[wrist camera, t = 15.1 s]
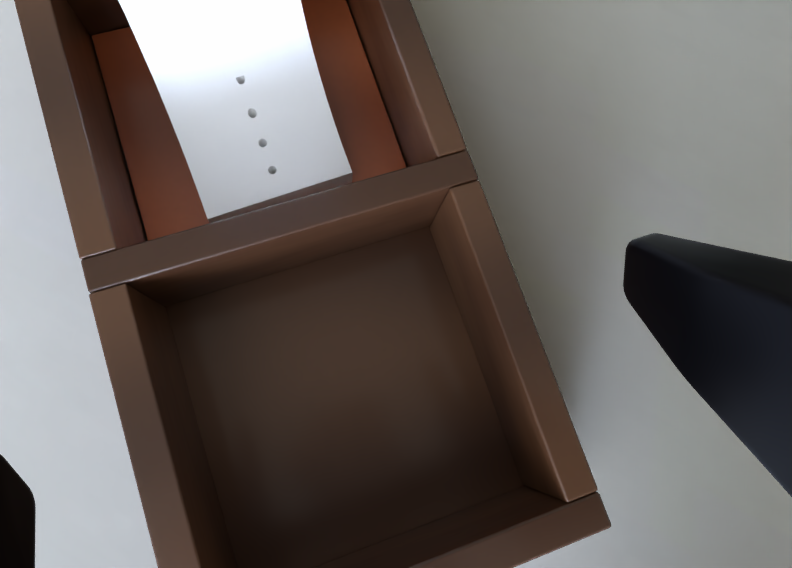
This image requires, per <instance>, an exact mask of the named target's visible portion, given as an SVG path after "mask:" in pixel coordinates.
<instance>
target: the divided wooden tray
mask: <svg viewBox="0 0 792 568" xmlns="http://www.w3.org/2000/svg"><path fill="white" fill-rule="evenodd" d="M14 1H15V5H16V9H17V13H18V17H19V21H20V25H21V29H22V33H23V37H24V41H25V45H26V49H27V53H28V57H29V61H30V64H31V68H32V72H33V76H34V80H35V84H36V88H37V92H38V96H39V100H40V104H41V108H42V112H43V116H44V120H45V124H46V128H47V132H48V136H49V139H50V143H51V147H52V151H53V155H54V159H55V163H56V167H57V171H58V175H59V179H60V183H61V187H62V191H63V195H64V199H65V203H66V207H67V211H68V214H69V218H70V222H71V226H72V230H73V234H74V238H75V242H76V246H77V250H78V254H79V258H80V259H82V261H81V264H82V268H83V272H84V276H85V280H86V284H87V287H88V291H89V292H90V293H91V294H89V297H90V301H91V305H92V309H93V313H94V317H95V321H96V325H97V329H98V333H99V336H100V340H101V344H102V348H103V352H104V356H105V360H106V364H107V368H108V372H109V376H110V380H111V384H112V388H113V392H114V396H115V400H116V404H117V407H118V411H119V415H120V419H121V423H122V427H123V431H124V435H125V439H126V443H127V447H128V451H129V455H130V459H131V463H132V467H133V471H134V475H135V479H136V482H137V486H138V490H139V494H140V498H141V502H142V506H143V510H144V514H145V518H146V522H147V526H148V530H149V534H150V538H151V542H152V546H153V550H154V553H155V557H156V561H157V565H158V568H514V567H516V566H519V565H521V564H523V563H526V562H528V561H531V560H533V559H535V558H538V557H540V556H543V555H545V554H548V553H550V552H552V551H555V550H557V549H560V548H562V547H564V546H567V545H569V544H572V543H574V542H577V541H579V540H581V539H584V538H586V537H589V536H591V535H594V534H596V533H598V532H601V531H603V530H606V529H608V528H610V527H611V523H610V520H609V517H608V515H607V512H606V510H605V507H604V504H603V502H602V499H601V497H600V494H599V493H598V492H596V491H597V486H596V483H595V480H594V478H593V475H592V473H591V470H590V467H589V465H588V462H587V460H586V457H585V454H584V452H583V449H582V447H581V444H580V441H579V439H578V436H577V434H576V431H575V428H574V426H573V423H572V421H571V418H570V415H569V413H568V410H567V408H566V405H565V402H564V400H563V397H562V395H561V392H560V389H559V387H558V384H557V382H556V379H555V376H554V374H553V371H552V368H551V366H550V363H549V361H548V358H547V355H546V353H545V350H544V348H543V345H542V342H541V340H540V337H539V335H538V332H537V329H536V327H535V324H534V322H533V319H532V316H531V314H530V311H529V309H528V306H527V303H526V301H525V298H524V296H523V293H522V290H521V288H520V285H519V283H518V280H517V277H516V275H515V272H514V270H513V267H512V264H511V262H510V259H509V257H508V254H507V251H506V249H505V246H504V244H503V241H502V238H501V236H500V233H499V231H498V228H497V225H496V223H495V220H494V217H493V215H492V212H491V210H490V207H489V204H488V202H487V199H486V197H485V194H484V191H483V189H482V186H481V184H480V182H479V181H477V180H478V176H477V173H476V171H475V168H474V166H473V163H472V160H471V158H470V155H469V153H468V151H466V145H465V142H464V140H463V137H462V135H461V132H460V129H459V127H458V124H457V122H456V119H455V116H454V114H453V111H452V109H451V106H450V103H449V101H448V98H447V96H446V93H445V90H444V88H443V85H442V83H441V80H440V77H439V75H438V72H437V69H436V67H435V64H434V62H433V59H432V56H431V54H430V51H429V49H428V46H427V43H426V41H425V38H424V36H423V33H422V30H421V28H420V25H419V23H418V20H417V17H416V15H415V12H414V10H413V7H412V4H411V2H410V0H301V4H302V8H303V13H304V17H305V21H306V25H307V29H308V33H309V37H310V41H311V45H312V49H313V53H314V56H315V60H316V63H317V67H318V71H319V74H320V78H321V81H322V84H323V88H324V91H325V94H326V98H327V101H328V104H329V107H330V110H331V113H332V117H333V120H334V123H335V126H336V128H337V131H338V134H339V137H340V140H341V143H342V146H343V148H344V151H345V154H346V157H347V159H348V162H349V165H350V167H351V170H352V183H349V184H346V185H343V186H339V187H336V188H332V189H329V190H325V191H322V192H318V193H314V194H311V195H307V196H304V197H300V198H297V199H293V200H290V201H286V202H283V203H279V204H276V205H272V206H269V207H265V208H262V209H258V210H255V211H251V212H247V213H244V214H240V215H237V216H233V217H230V218H226V219H223V220H219V221H216V222H212V223H210V222H209V221H208V219H207V216H206V213H205V210H204V208H203V205H202V202H201V199H200V196H199V194H198V191H197V188H196V185H195V182H194V180H193V177H192V174H191V172H190V169H189V166H188V164H187V161H186V158H185V156H184V153H183V151H182V148H181V145H180V143H179V140H178V138H177V135H176V133H175V130H174V128H173V125H172V123H171V120H170V118H169V115H168V113H167V110H166V108H165V105H164V103H163V100H162V98H161V96H160V93H159V91H158V89H157V86H156V84H155V81H154V79H153V77H152V74H151V72H150V70H149V67H148V65H147V63H146V60H145V58H144V56H143V54H142V51H141V49H140V47H139V45H138V42H137V40H136V38H135V35H134V33H133V31H132V29H131V27H130V25H129V22H128V20H127V18H126V16H125V14H124V11H123V9H122V7H121V5H120V3H119V1H118V0H14Z"/></svg>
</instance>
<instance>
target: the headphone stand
mask: <svg viewBox="0 0 792 568" xmlns="http://www.w3.org/2000/svg"><path fill="white" fill-rule="evenodd" d="M118 1H119V3H120V5H121V7H122V9H123V11H124V14H125V16H126V18H127V20H128V22H129V25H130V27H131V29H132V31H133V33H134V35H135V38H136V40H137V42H138V45H139V47H140V49H141V51H142V54H143V56H144V58H145V60H146V63H147V65H148V67H149V70H150V72H151V74H152V77H153V79H154V81H155V84H156V86H157V89H158V91H159V93H160V96H161V98H162V100H163V103H164V105H165V108H166V110H167V113H168V115H169V118H170V120H171V123H172V125H173V128H174V130H175V133H176V135H177V138H178V140H179V143H180V145H181V148H182V151H183V153H184V156H185V158H186V161H187V164H188V166H189V169H190V172H191V174H192V177H193V180H194V182H195V185H196V188H197V191H198V194H199V196H200V199H201V202H202V205H203V208H204V210H205V213H206V216H207V219H208V221H209V222H210V223H212V222H216V221H219V220H223V219H226V218H230V217H233V216H237V215H240V214H244V213H247V212H251V211H255V210H258V209H262V208H265V207H269V206H272V205H276V204H279V203H283V202H286V201H290V200H293V199H297V198H300V197H304V196H307V195H311V194H314V193H318V192H322V191H325V190H329V189H332V188H336V187H339V186H343V185H346V184H349V183H352V170H351V167H350V165H349V162H348V159H347V157H346V154H345V151H344V148H343V146H342V143H341V140H340V137H339V134H338V131H337V128H336V126H335V123H334V120H333V117H332V113H331V110H330V107H329V104H328V101H327V98H326V94H325V91H324V88H323V84H322V81H321V78H320V74H319V71H318V67H317V63H316V60H315V56H314V53H313V49H312V45H311V41H310V37H309V33H308V29H307V25H306V21H305V17H304V13H303V8H302V4H301V0H118Z"/></svg>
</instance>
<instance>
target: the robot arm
mask: <svg viewBox="0 0 792 568" xmlns="http://www.w3.org/2000/svg"><path fill="white" fill-rule="evenodd" d="M623 287H624V292H625V296H626V298H627V300H628V301H629V303H630V304H631V306H632V307H633V308H634V310H635V311H636V312H637V314H638V315H639V317H640V318H641V319H642V321H643V322H644V323H645V325H646V326H647V328H648V329H649V330H650V332H651V333H652V335H653V336H654V337H655V339H656V340H657V341H658V343H659V344H660V346H661V347H662V348H663V350H664V351H665V352H666V354H667V355H668V357H669V358H670V359H671V361H672V362H673V363H674V365H675V366H676V367H677V369H678V370H679V371H680V372H681V374H682V375H683V376H684V377H685V379H686V380H687V381H688V382H689V383H690V384H691V386H692V387H693V388H694V389H695V390H696V391H697V392H698V394H699V395H700V396H701V397H702V398H703V399H704V400H705V401H706V402H707V404H708V405H709V406H710V407H711V408H712V409H713V410H714V411H715V412H716V413H717V415H718V416H719V417H720V418H721V419H722V420H723V421H724V422H725V423H726V425H727V426H728V427H729V428H730V429H731V430H732V431H733V432H734V433H735V435H736V436H737V437H738V438H739V439H740V440H741V441H742V442H743V443H744V445H745V446H746V447H747V448H748V449H749V450H750V451H751V452H752V453H753V454H754V456H755V457H756V458H757V459H758V460H759V461H760V462H761V463H762V464H763V466H764V467H765V468H766V469H767V470H768V471H769V472H770V473H771V474H772V476H773V477H774V478H775V479H776V480H777V481H778V482H779V483H780V484H781V486H782V487H783V488H784V489H785V490H786V491H787V492H788V493H789V494H790V496H791V497H792V262H791V261H787V260H782V259H777V258H772V257H768V256H763V255H758V254H753V253H749V252H744V251H739V250H734V249H730V248H725V247H720V246H715V245H711V244H706V243H701V242H696V241H692V240H687V239H682V238H677V237H673V236H668V235H663V234H658V233H653V234H649V235H646V236H643V237H640V238H637V239H634V240H632V241H631V242H629V244H628V245H627V247H626V255H625V268H624V281H623ZM0 568H35V500H34V497H33V494H32V492H31V490H30V488H29V487H28V486H27V484H26V483H25V482H24V481H23V480H22V478H21V477H20V476H19V475H18V474H17V473H16V471H15V470H14V469H13V468H12V467H11V465H10V464H9V463H8V462H7V461H6V459H5V458H4V457H3V456H2V455H1V454H0Z"/></svg>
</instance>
